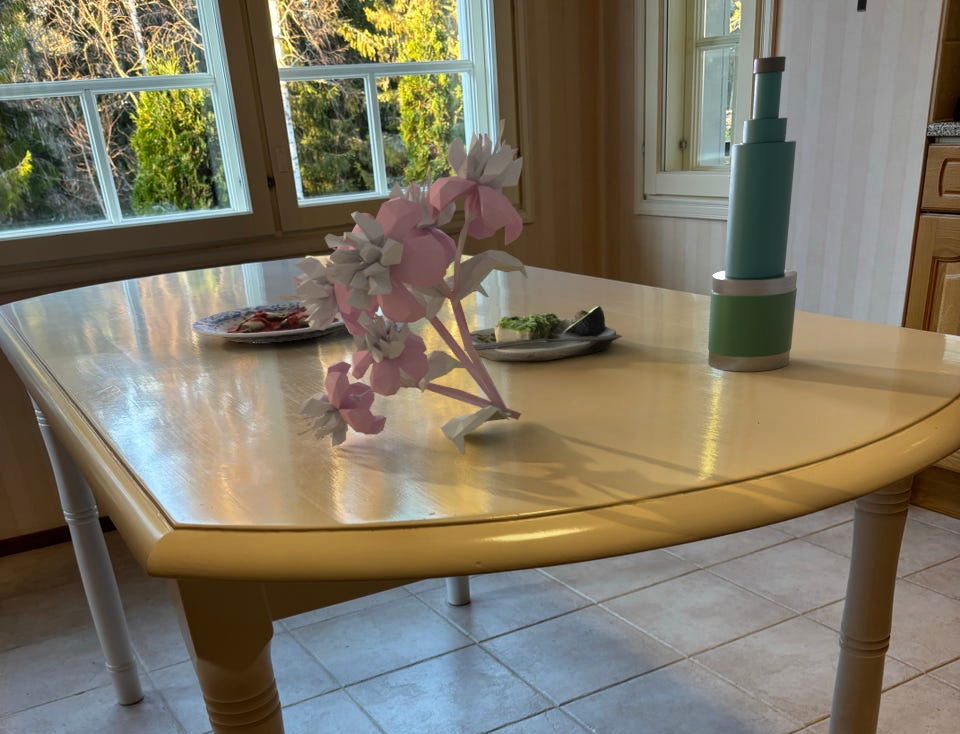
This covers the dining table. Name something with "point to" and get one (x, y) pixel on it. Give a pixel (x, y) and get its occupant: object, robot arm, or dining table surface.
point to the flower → (411, 292)
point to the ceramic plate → (263, 324)
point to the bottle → (761, 183)
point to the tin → (751, 322)
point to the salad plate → (544, 337)
